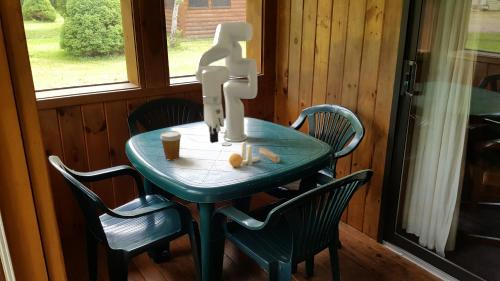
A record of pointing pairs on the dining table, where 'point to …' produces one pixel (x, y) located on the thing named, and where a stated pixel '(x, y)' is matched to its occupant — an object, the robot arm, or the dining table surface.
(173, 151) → the disposable coffee cup
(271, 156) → the back wall
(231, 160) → the ball
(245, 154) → the back left pin
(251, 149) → the back right pin
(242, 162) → the front pin
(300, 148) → the dining table surface
